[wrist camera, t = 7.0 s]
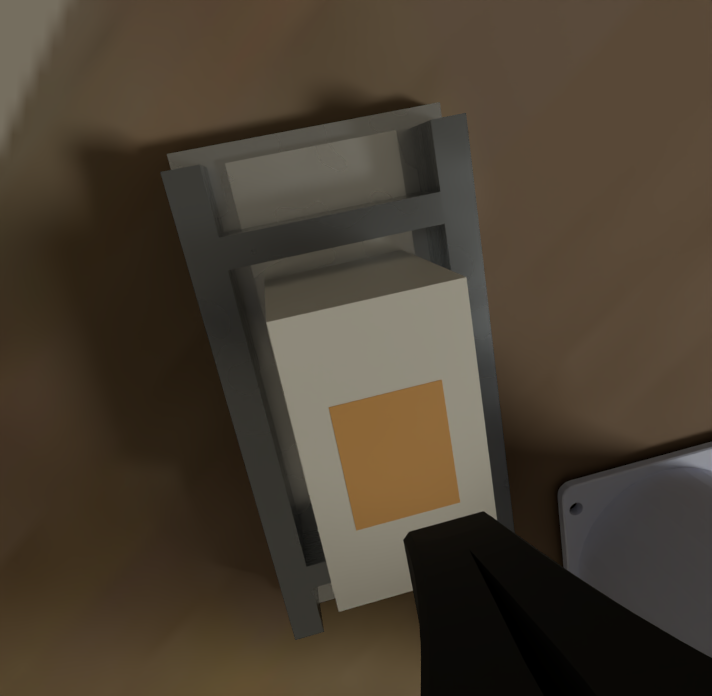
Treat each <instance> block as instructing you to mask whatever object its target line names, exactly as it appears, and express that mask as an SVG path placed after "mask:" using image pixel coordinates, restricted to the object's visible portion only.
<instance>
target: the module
mask: <svg viewBox="0 0 712 696" xmlns="http://www.w3.org/2000/svg"><path fill="white" fill-rule="evenodd" d="M264 287H265V308H266V324H267V328H268V332H269V336H270V340H271V344H272V348H273V352H274V356H275V360H276V363H277V367H278V371H279V375H280V379H281V383H282V387H283V391H284V395H285V399H286V403H287V407H288V411H289V415H290V419H291V423H292V427H293V431H294V435H295V439H296V443H297V447H298V451H299V455H300V459H301V463H302V467H303V471H304V475H305V479H306V483H307V487H308V491H309V495H310V499H311V503H312V507H313V511H314V515H315V519H316V523H317V527H318V531H319V535H320V539H321V543H322V547H323V551H324V555H325V559H326V563H327V567H328V571H329V575H330V579H331V583H332V587H333V591H334V595H335V599H336V603H337V607H338V611H339V612H340V611H344V610H347V609H351V608H354V607H358V606H361V605H365V604H368V603H372V602H375V601H379V600H382V599H385V598H389V597H392V596H396V595H399V594H403V593H406V592H410V591H413V588H412V583H411V578H410V572H409V567H408V562H407V557H406V552H405V547H404V541H403V539H404V538H405V537H406V535H407V534H408V533H409V532H410V531H413V530H417V529H421V528H424V527H428V526H431V525H435V524H439V523H442V522H446V521H450V520H453V519H457V518H460V517H464V516H468V515H471V514H475V513H479V512H482V511H484V512H486V513H487V514H489V515H490V516H492V517H493V518H494V519H496V520H497V515H496V507H495V500H494V492H493V484H492V476H491V468H490V460H489V452H488V444H487V436H486V428H485V420H484V412H483V404H482V397H481V389H480V381H479V373H478V365H477V357H476V349H475V341H474V333H473V325H472V317H471V309H470V302H469V294H468V286H467V278H466V277H465V276H463V275H460V274H458V273H456V272H453V271H451V270H448V269H446V268H444V267H441V266H439V265H437V264H434V263H432V262H430V261H427V260H425V259H423V258H420V257H418V256H416V255H413V254H411V253H409V252H406V251H404V250H400V251H396V252H391V253H387V254H382V255H378V256H373V257H368V258H364V259H359V260H355V261H350V262H345V263H341V264H336V265H332V266H327V267H322V268H318V269H313V270H309V271H304V272H299V273H295V274H290V275H286V276H281V277H276V278H272V279H267V280H264Z"/></svg>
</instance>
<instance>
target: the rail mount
mask: <svg viewBox="0 0 712 696" xmlns="http://www.w3.org/2000/svg"><path fill="white" fill-rule="evenodd" d="M167 157H168V161H169V164H170V168H171V170H168V171H163V172H160V173H161V176H162V180H163V183H164V187H165V190H166V194H167V197H168V201H169V204H170V208H171V211H172V215H173V218H174V221H175V225H176V228H177V232H178V235H179V239H180V242H181V246H182V249H183V253H184V256H185V260H186V263H187V266H188V270H189V273H190V277H191V280H192V284H193V287H194V291H195V294H196V298H197V301H198V304H199V308H200V311H201V315H202V318H203V322H204V325H205V329H206V332H207V336H208V339H209V343H210V346H211V349H212V353H213V356H214V360H215V363H216V367H217V370H218V374H219V377H220V381H221V384H222V388H223V391H224V394H225V398H226V401H227V405H228V408H229V412H230V415H231V419H232V422H233V426H234V429H235V432H236V436H237V439H238V443H239V446H240V450H241V453H242V457H243V460H244V464H245V467H246V471H247V474H248V477H249V481H250V484H251V488H252V491H253V495H254V498H255V502H256V505H257V509H258V512H259V516H260V519H261V522H262V526H263V529H264V533H265V536H266V540H267V543H268V547H269V550H270V554H271V557H272V560H273V564H274V567H275V571H276V574H277V578H278V581H279V585H280V588H281V592H282V595H283V599H284V602H285V605H286V609H287V612H288V616H289V619H290V623H291V626H292V630H293V633H294V637H295V640H297V639H300V638H304V637H307V636H311V635H314V634H318V633H321V632H324V629H323V623H322V616H321V609H320V603H321V602H324V601H328V600H331V599H335V595H334V591H333V587H332V583H331V579H330V575H329V571H328V567H327V563H326V559H325V555H324V551H323V547H322V543H321V539H320V535H319V531H318V527H317V523H316V519H315V515H314V511H313V507H312V503H311V499H310V495H309V491H308V487H307V483H306V479H305V475H304V471H303V467H302V463H301V459H300V455H299V451H298V447H297V443H296V439H295V435H294V431H293V427H292V423H291V419H290V415H289V411H288V407H287V403H286V399H285V395H284V391H283V387H282V383H281V379H280V375H279V371H278V367H277V363H276V360H275V356H274V352H273V348H272V344H271V340H270V336H269V332H268V328H267V324H266V308H265V287H264V280H267V279H272V278H276V277H281V276H286V275H290V274H295V273H299V272H304V271H309V270H313V269H318V268H322V267H327V266H332V265H336V264H341V263H345V262H350V261H355V260H359V259H364V258H368V257H373V256H378V255H382V254H387V253H391V252H396V251H400V250H404V251H406V252H409V253H411V254H413V255H416V256H418V257H420V258H423V259H425V260H427V261H430V262H432V263H434V264H437V265H439V266H441V267H444V268H446V269H448V270H451V271H453V272H456V273H458V274H460V275H463V276H465V277H466V278H467V286H468V294H469V302H470V309H471V317H472V325H473V333H474V341H475V349H476V357H477V365H478V373H479V381H480V389H481V397H482V404H483V412H484V420H485V428H486V436H487V444H488V452H489V460H490V468H491V476H492V484H493V492H494V500H495V507H496V515H497V521H499V522H500V523H501V524H503V525H504V526H506V527H507V528H508V529H510V530H511V531H512V532H514V523H513V515H512V506H511V497H510V489H509V480H508V472H507V463H506V454H505V446H504V437H503V428H502V420H501V411H500V403H499V394H498V385H497V377H496V368H495V360H494V351H493V342H492V334H491V325H490V316H489V308H488V299H487V291H486V282H485V273H484V265H483V256H482V248H481V239H480V230H479V222H478V213H477V204H476V196H475V187H474V179H473V170H472V161H471V153H470V144H469V136H468V127H467V118H466V113H463V114H458V115H453V116H448V117H443V118H442V116H441V108H440V102H438V103H433V104H428V105H423V106H417V107H412V108H407V109H401V110H396V111H391V112H386V113H380V114H375V115H370V116H365V117H359V118H354V119H349V120H344V121H338V122H333V123H328V124H322V125H317V126H312V127H307V128H301V129H296V130H291V131H286V132H280V133H275V134H270V135H264V136H259V137H254V138H249V139H243V140H238V141H233V142H228V143H222V144H217V145H212V146H207V147H201V148H196V149H191V150H185V151H180V152H175V153H170V154H167ZM514 533H515V532H514Z"/></svg>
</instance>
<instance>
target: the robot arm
mask: <svg viewBox="0 0 712 696" xmlns="http://www.w3.org/2000/svg"><path fill="white" fill-rule="evenodd" d="M575 503H577V504H576V506H575V507H574V508H572V509H570V507H571V506H572V505H573V504H575ZM558 508H559V520H560V532H561V543H562V555H563V567H564V568H563V567H562V566H561V565H559V564H558V563H556V562H555V561H553V560H552V559H550V558H549V557H548V556H546V555H545V554H543V553H542V552H540V551H539V550H538V549H536V548H535V547H533V546H532V545H530V544H529V543H528V542H526V541H525V540H524V539H522V538H521V537H519V536H518V535H517V534H515V533H514V532H512V531H511V530H510V529H508V528H507V527H506V526H504V525H503V524H501V523H500V522H499V521H497V520H496V519H494V518H493V517H492V516H490V515H489V514H487V513H486V512H484V511H482V512H479V513H475V514H471V515H468V516H464V517H460V518H457V519H453V520H450V521H446V522H442V523H439V524H435V525H431V526H428V527H424V528H421V529H417V530H413V531H410V532H409V533H408V534H407V535H406V537H405V538H404V539H403V541H404V547H405V552H406V557H407V562H408V567H409V572H410V578H411V583H412V588H413V593H414V598H415V603H416V608H417V614H418V619H419V624H420V639H421V696H712V442H708V443H704V444H701V445H697V446H693V447H690V448H686V449H682V450H679V451H675V452H672V453H668V454H664V455H661V456H657V457H653V458H650V459H646V460H642V461H639V462H635V463H632V464H628V465H624V466H621V467H617V468H613V469H610V470H606V471H602V472H599V473H595V474H591V475H588V476H584V477H581V478H577V479H573V480H570V481H567V482H565V483H564V484H563V485H562V486H561V487H560V488H559V490H558Z"/></svg>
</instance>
